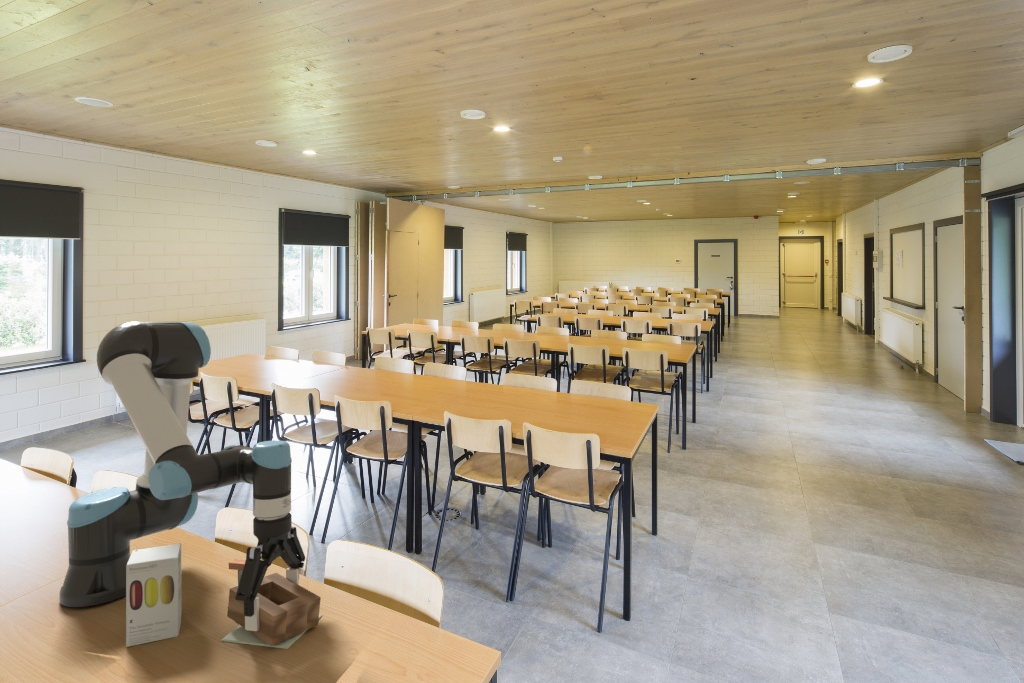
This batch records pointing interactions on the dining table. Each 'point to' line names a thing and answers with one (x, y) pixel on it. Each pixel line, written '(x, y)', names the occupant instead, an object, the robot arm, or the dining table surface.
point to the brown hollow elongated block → (279, 609)
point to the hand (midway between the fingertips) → (273, 613)
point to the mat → (248, 638)
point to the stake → (237, 567)
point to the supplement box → (153, 594)
